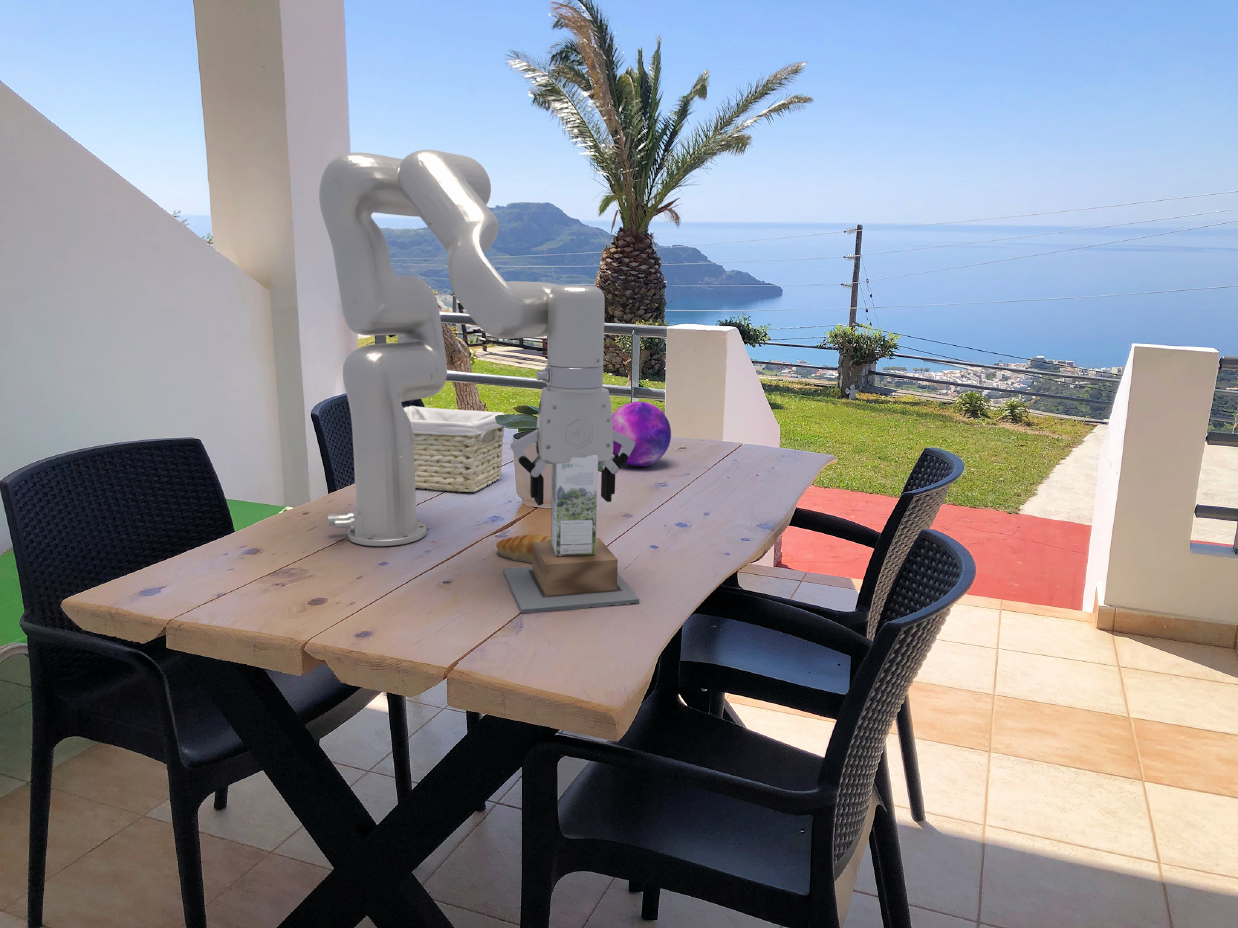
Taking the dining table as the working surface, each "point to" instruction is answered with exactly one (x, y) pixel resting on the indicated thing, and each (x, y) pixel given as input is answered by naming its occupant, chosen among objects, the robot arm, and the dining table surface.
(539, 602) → the slate mat
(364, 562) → the dining table surface
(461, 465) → the storage basket
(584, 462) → the syrup box
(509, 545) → the pastry
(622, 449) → the robot arm
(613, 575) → the plinth
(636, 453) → the decorative orb
